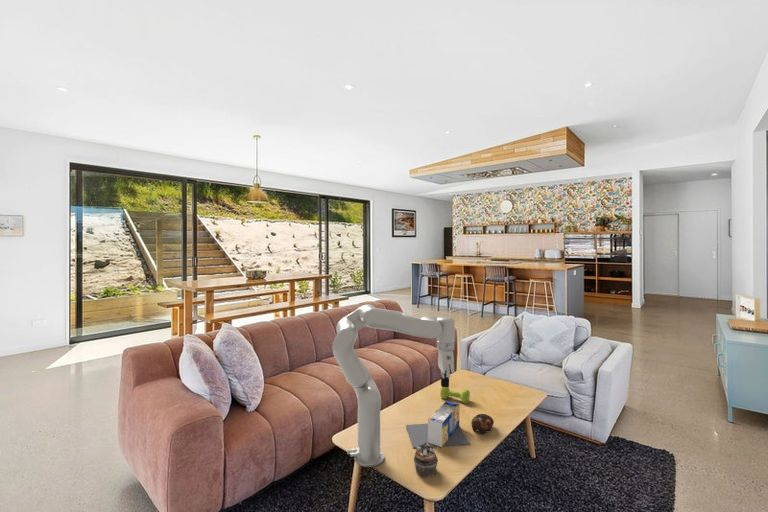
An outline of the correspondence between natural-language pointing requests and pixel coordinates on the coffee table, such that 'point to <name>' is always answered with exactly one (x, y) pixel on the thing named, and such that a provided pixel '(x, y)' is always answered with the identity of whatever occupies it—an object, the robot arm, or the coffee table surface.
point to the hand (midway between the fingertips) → (444, 386)
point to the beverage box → (443, 423)
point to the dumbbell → (455, 394)
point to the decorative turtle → (482, 423)
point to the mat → (420, 436)
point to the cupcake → (425, 460)
